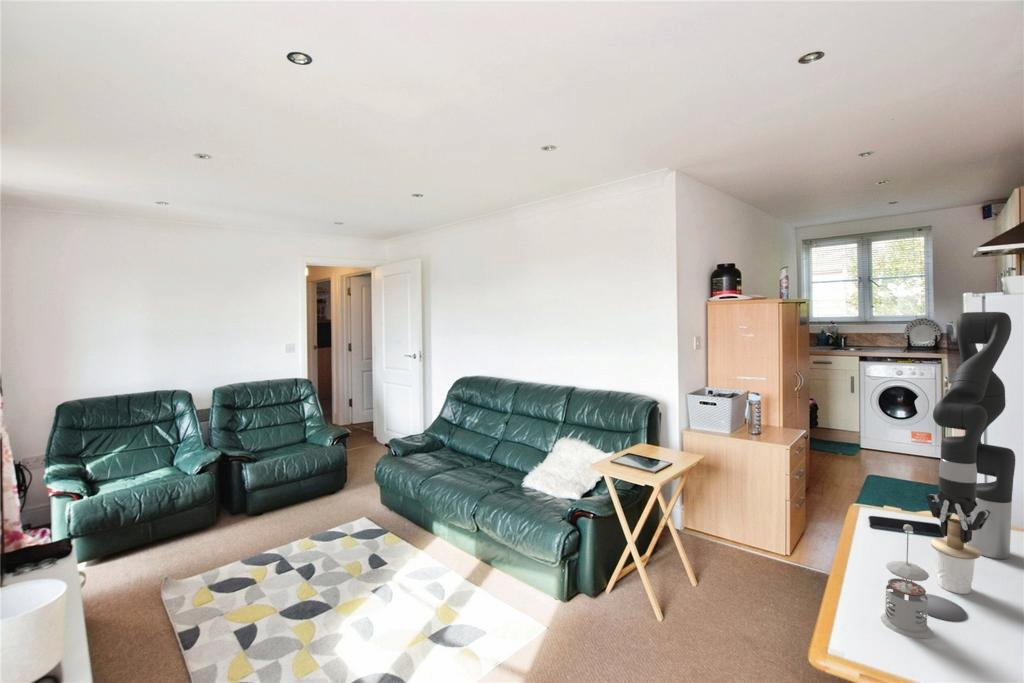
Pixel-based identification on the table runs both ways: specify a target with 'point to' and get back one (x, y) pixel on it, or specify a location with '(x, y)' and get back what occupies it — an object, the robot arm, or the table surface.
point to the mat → (944, 608)
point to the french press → (906, 612)
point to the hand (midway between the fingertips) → (955, 538)
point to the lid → (955, 543)
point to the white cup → (954, 573)
